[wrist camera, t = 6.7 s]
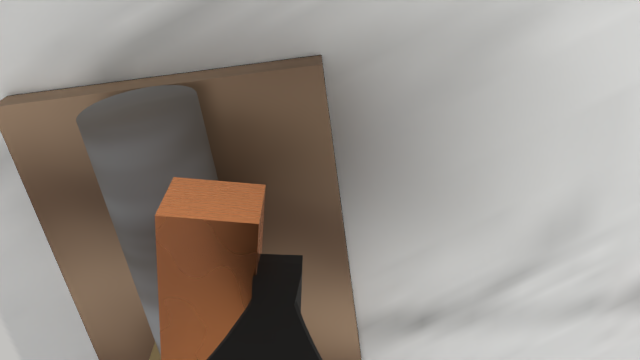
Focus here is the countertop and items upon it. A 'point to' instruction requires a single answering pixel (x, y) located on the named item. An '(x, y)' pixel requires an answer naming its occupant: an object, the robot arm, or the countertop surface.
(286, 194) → the valve board
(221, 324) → the valve lever
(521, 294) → the countertop surface
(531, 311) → the countertop surface
